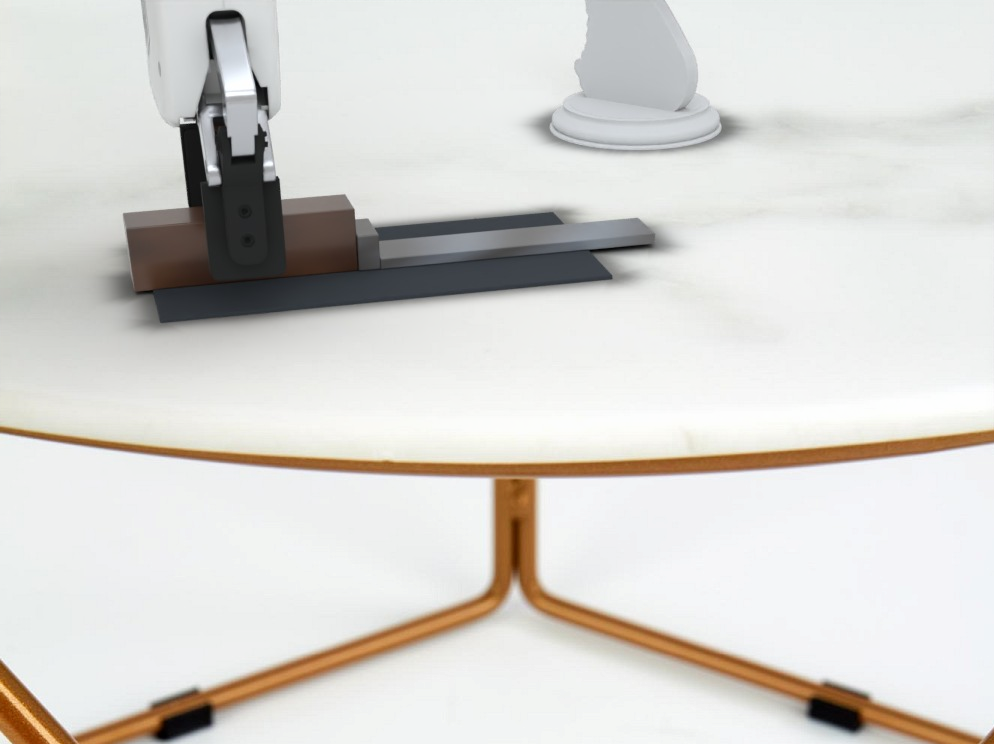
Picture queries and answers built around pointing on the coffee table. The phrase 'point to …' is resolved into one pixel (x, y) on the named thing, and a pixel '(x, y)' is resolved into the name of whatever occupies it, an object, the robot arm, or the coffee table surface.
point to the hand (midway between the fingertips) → (235, 241)
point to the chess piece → (635, 82)
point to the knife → (346, 243)
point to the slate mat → (389, 277)
